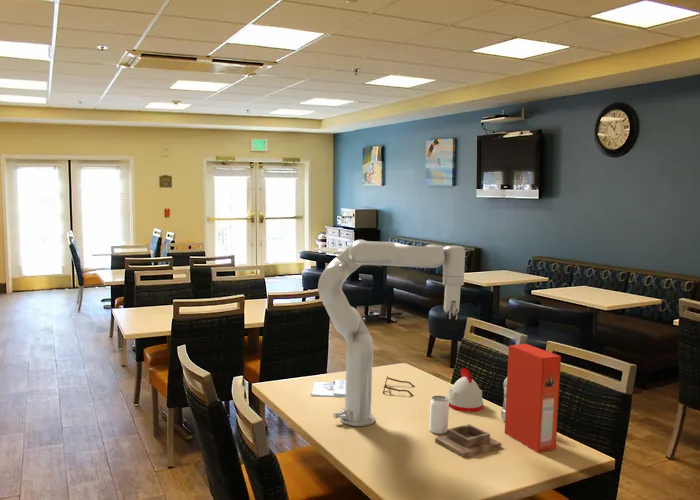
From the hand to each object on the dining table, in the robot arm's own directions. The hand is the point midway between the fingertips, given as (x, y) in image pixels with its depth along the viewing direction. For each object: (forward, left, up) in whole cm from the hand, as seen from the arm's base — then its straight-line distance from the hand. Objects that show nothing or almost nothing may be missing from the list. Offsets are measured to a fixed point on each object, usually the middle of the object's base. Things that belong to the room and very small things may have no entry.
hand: (451, 327), depth 221 cm
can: (-7, -3, -37) cm, 37 cm away
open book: (-16, +53, -37) cm, 66 cm away
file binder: (+15, -25, -37) cm, 47 cm away
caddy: (-6, -17, -36) cm, 41 cm away
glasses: (+8, +40, -37) cm, 55 cm away
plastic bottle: (+23, -9, -37) cm, 44 cm away
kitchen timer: (+20, +12, -37) cm, 43 cm away
